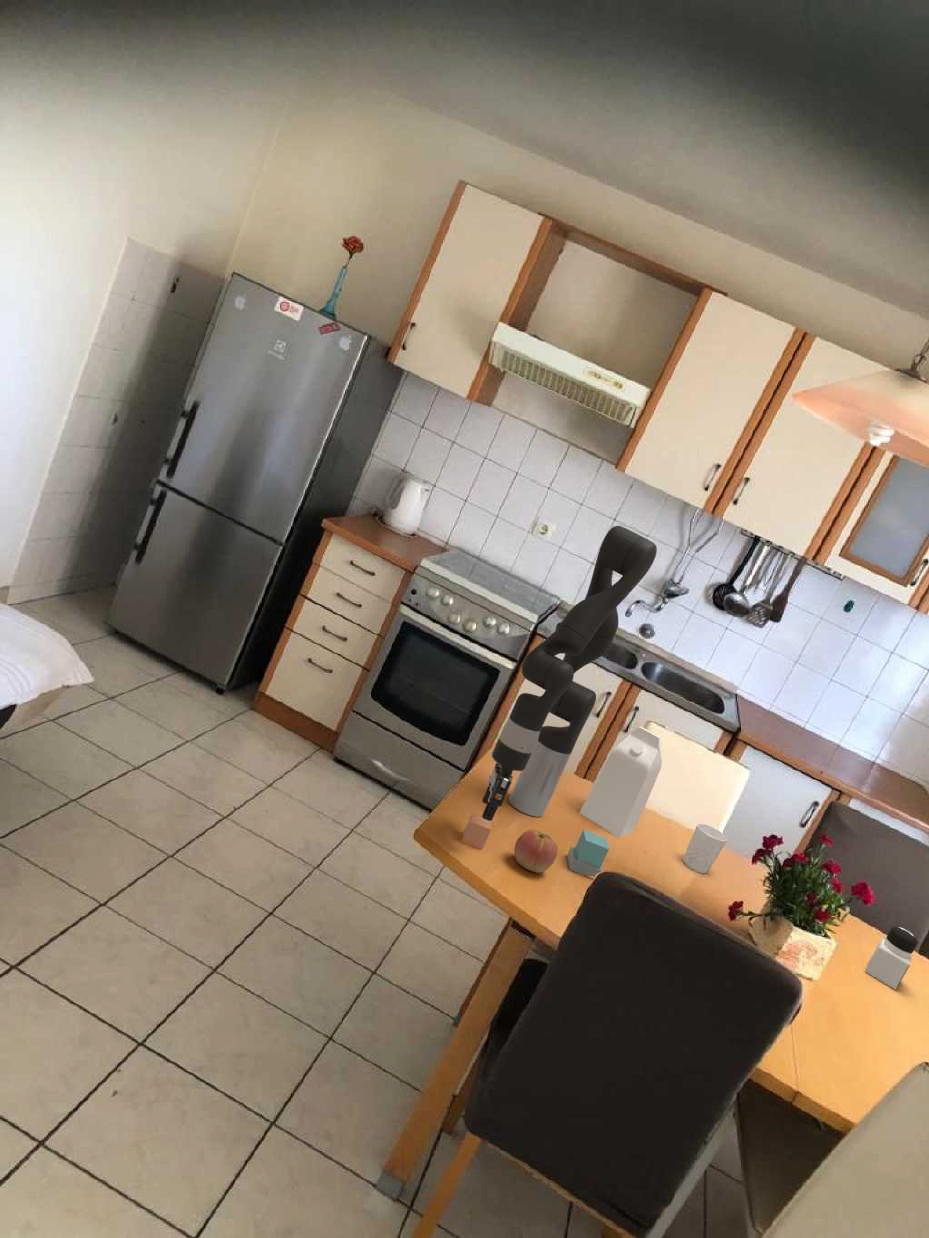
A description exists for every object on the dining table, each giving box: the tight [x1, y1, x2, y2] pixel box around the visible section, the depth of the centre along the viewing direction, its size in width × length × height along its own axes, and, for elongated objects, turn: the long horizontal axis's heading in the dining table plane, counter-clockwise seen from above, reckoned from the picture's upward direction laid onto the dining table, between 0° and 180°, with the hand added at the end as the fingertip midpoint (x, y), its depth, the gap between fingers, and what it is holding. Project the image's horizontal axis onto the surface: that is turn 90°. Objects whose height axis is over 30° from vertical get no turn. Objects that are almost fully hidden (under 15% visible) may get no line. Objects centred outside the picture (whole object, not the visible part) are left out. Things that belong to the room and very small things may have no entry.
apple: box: [513, 829, 559, 874], centre depth 202 cm, size 9×9×8 cm
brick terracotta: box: [461, 812, 492, 851], centre depth 203 cm, size 4×4×5 cm
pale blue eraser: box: [566, 845, 604, 877], centre depth 212 cm, size 7×7×2 cm
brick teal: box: [574, 829, 610, 869], centre depth 211 cm, size 6×6×5 cm
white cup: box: [682, 822, 728, 875], centre depth 239 cm, size 8×8×10 cm
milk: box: [578, 726, 663, 839], centre depth 243 cm, size 12×12×26 cm
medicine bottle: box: [865, 926, 919, 991], centre depth 219 cm, size 7×7×12 cm
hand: (486, 811), depth 202 cm, fingers open, 8 cm apart
